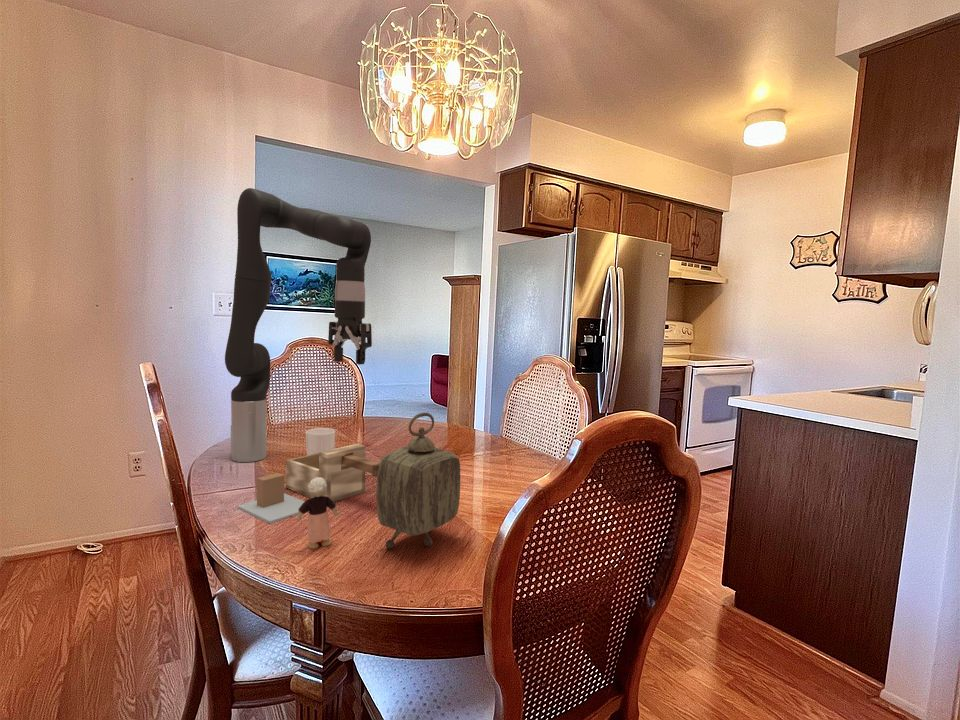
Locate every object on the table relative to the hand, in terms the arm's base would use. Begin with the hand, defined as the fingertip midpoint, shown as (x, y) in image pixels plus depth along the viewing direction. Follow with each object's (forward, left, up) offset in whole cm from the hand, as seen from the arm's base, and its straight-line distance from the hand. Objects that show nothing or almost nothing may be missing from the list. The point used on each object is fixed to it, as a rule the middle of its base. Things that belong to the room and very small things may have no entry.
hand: (349, 363), depth 132 cm
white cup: (-13, +1, -30) cm, 33 cm away
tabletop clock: (+41, -16, -30) cm, 53 cm away
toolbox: (+4, -10, -30) cm, 32 cm away
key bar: (+17, -10, -22) cm, 30 cm away
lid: (+6, -24, -31) cm, 39 cm away
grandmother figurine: (+27, -29, -30) cm, 50 cm away
